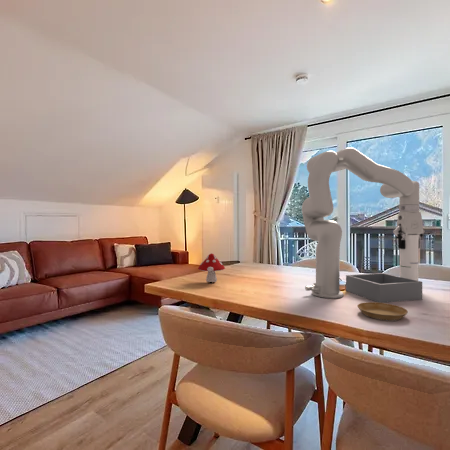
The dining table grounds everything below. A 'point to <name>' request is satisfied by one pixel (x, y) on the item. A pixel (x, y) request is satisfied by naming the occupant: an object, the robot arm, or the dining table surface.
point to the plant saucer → (382, 311)
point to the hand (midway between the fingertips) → (409, 248)
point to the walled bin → (384, 287)
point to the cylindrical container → (409, 257)
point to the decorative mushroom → (211, 267)
